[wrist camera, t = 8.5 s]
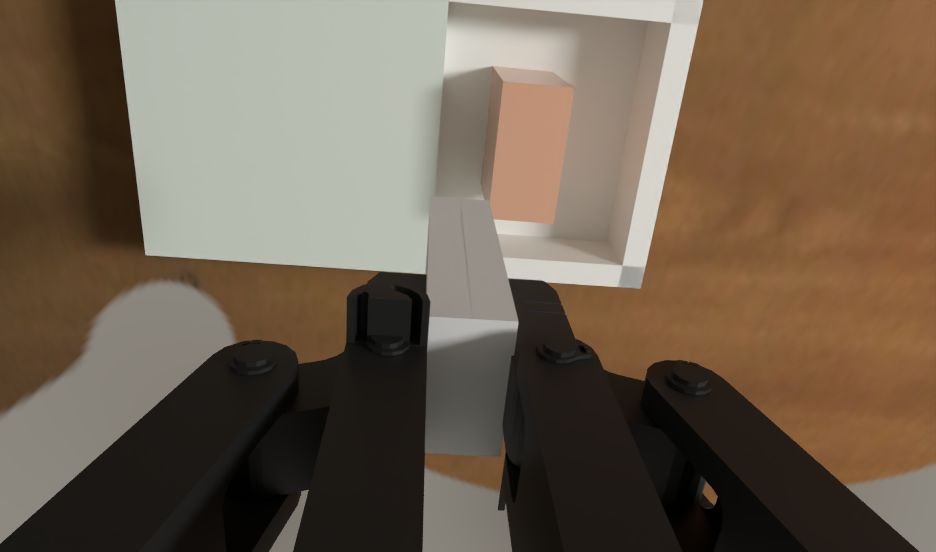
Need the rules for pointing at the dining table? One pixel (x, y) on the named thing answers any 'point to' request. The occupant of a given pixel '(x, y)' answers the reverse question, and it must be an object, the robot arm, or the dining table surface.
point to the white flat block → (286, 128)
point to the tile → (525, 143)
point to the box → (574, 123)
